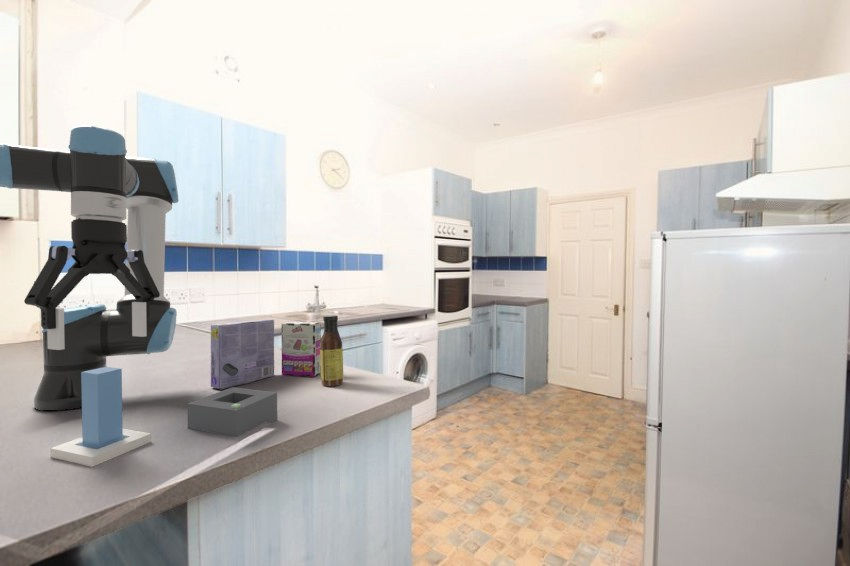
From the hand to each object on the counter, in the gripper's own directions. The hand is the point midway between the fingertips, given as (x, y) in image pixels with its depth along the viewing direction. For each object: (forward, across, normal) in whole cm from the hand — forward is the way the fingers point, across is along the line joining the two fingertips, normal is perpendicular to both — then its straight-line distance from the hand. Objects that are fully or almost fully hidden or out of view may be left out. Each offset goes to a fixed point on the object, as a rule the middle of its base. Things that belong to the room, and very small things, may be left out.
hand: (101, 342), depth 71 cm
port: (+20, +18, -12) cm, 29 cm away
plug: (+19, 0, 0) cm, 19 cm away
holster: (+20, 0, 0) cm, 20 cm away
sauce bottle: (+20, +52, -15) cm, 58 cm away
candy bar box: (+20, +58, 0) cm, 62 cm away
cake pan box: (+20, +46, +10) cm, 51 cm away
